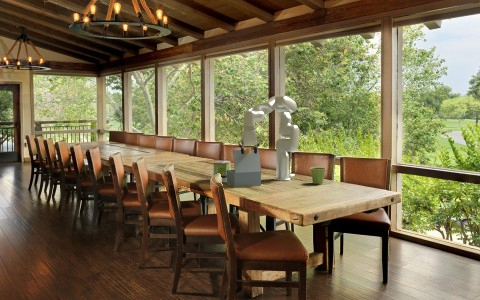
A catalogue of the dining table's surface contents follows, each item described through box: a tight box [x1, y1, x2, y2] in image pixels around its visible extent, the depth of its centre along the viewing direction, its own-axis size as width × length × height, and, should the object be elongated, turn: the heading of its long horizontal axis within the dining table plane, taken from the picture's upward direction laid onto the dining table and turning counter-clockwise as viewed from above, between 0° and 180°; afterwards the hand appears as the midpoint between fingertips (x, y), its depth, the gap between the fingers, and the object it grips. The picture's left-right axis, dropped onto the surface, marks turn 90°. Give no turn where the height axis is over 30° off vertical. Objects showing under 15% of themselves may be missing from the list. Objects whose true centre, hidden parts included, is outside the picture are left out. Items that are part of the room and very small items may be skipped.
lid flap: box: [232, 147, 262, 173], centre depth 293 cm, size 20×16×8 cm
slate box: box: [226, 169, 262, 188], centre depth 302 cm, size 20×16×10 cm
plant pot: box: [309, 166, 327, 185], centre depth 309 cm, size 12×12×11 cm
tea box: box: [212, 160, 232, 183], centre depth 318 cm, size 15×10×15 cm
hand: (249, 153), depth 292 cm, fingers open, 9 cm apart
